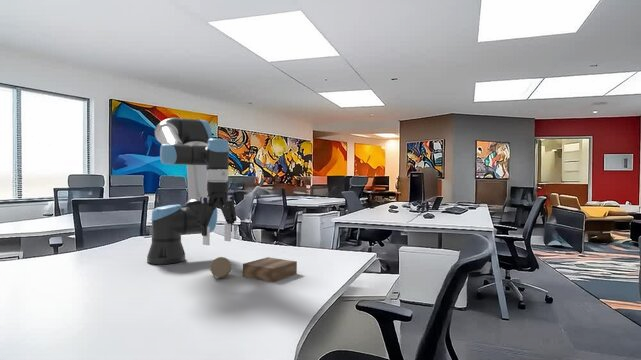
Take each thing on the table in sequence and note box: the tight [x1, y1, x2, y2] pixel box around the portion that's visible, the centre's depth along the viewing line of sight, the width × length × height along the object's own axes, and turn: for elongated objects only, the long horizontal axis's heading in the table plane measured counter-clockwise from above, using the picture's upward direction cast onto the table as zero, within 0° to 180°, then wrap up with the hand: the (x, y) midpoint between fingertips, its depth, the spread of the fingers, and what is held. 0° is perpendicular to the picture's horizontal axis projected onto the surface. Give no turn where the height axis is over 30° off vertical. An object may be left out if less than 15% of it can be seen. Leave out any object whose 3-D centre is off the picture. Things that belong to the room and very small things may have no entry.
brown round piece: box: [209, 256, 232, 278], centre depth 141 cm, size 8×10×10 cm
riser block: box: [242, 256, 298, 283], centre depth 144 cm, size 14×14×5 cm
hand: (217, 242), depth 143 cm, fingers open, 9 cm apart
